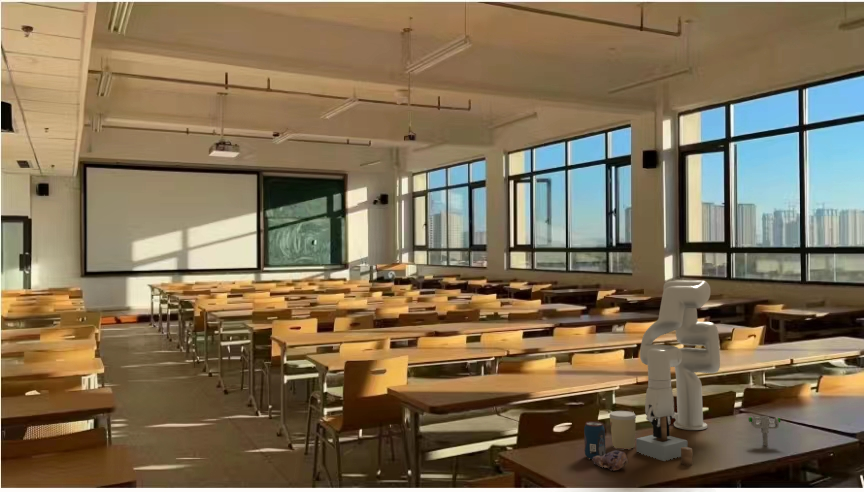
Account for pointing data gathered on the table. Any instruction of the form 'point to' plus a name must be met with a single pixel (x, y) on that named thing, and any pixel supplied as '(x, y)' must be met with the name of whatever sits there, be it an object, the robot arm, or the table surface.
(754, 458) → the table surface
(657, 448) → the hole block
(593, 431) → the soda can
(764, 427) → the mechanical component
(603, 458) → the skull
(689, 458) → the short dowel
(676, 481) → the table surface
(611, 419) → the coffee cup
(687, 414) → the robot arm
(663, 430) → the long dowel
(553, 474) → the table surface
